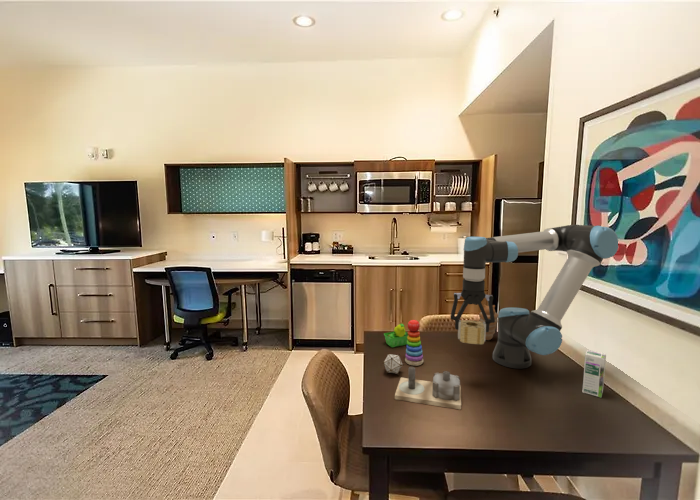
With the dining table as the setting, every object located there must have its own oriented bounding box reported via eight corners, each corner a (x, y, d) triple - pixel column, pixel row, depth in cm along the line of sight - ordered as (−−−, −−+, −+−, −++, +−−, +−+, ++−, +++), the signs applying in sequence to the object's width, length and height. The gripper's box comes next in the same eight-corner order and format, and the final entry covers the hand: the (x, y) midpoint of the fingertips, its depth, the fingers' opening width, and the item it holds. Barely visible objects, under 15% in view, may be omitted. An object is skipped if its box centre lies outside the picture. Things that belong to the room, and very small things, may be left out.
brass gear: (481, 336, 131) (482, 321, 130) (484, 345, 123) (485, 328, 122) (459, 334, 133) (459, 319, 132) (460, 342, 125) (460, 326, 124)
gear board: (460, 389, 125) (461, 366, 124) (460, 409, 113) (461, 384, 112) (400, 381, 132) (400, 358, 131) (394, 399, 120) (394, 374, 118)
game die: (396, 380, 140) (410, 360, 140) (392, 382, 132) (407, 361, 132) (379, 365, 143) (393, 346, 143) (374, 367, 135) (389, 346, 136)
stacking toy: (422, 358, 151) (423, 317, 149) (424, 366, 143) (425, 323, 141) (404, 357, 152) (404, 317, 149) (405, 366, 144) (405, 323, 142)
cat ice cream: (496, 338, 173) (498, 303, 171) (497, 343, 166) (499, 307, 163) (478, 335, 176) (479, 301, 174) (478, 341, 169) (479, 306, 167)
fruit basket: (402, 339, 173) (402, 317, 171) (412, 345, 165) (413, 323, 163) (383, 343, 168) (383, 321, 167) (392, 350, 160) (392, 326, 159)
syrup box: (581, 392, 122) (584, 353, 120) (584, 386, 127) (587, 348, 125) (601, 398, 119) (604, 358, 117) (603, 391, 123) (606, 352, 121)
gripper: (502, 278, 126) (499, 337, 129) (444, 275, 131) (442, 332, 134) (506, 282, 119) (503, 345, 121) (444, 279, 124) (442, 340, 127)
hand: (471, 338), depth 128 cm, fingers closed on brass gear, 8 cm apart
